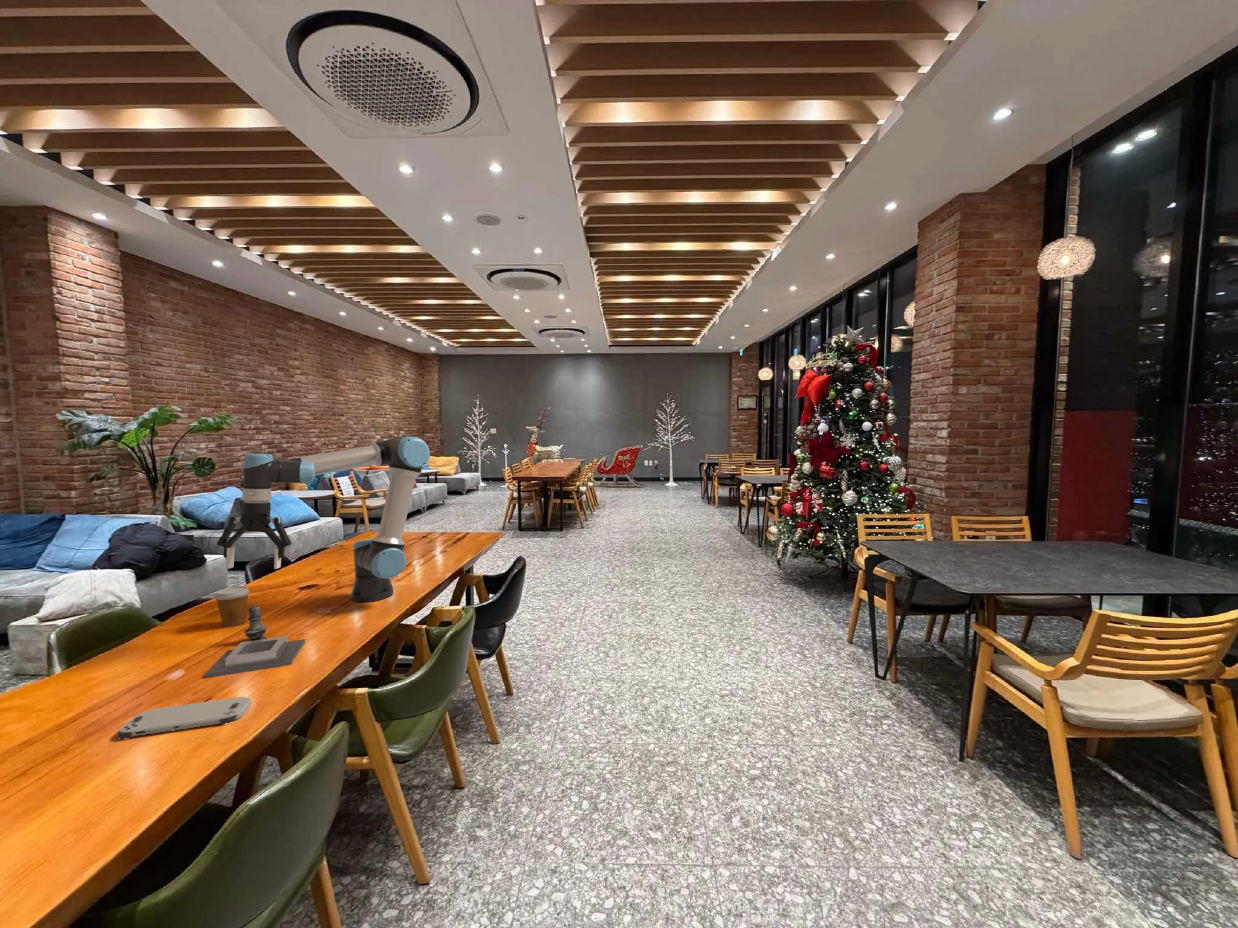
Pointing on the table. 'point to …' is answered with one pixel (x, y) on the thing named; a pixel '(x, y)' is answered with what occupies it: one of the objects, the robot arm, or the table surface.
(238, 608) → the disposable coffee cup
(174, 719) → the handheld gaming console
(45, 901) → the table surface
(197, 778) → the table surface
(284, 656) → the collar plate
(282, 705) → the table surface
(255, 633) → the dark grey chess piece
